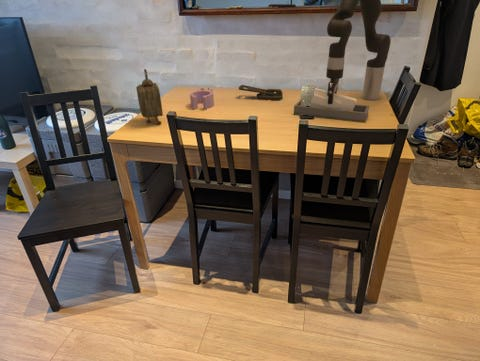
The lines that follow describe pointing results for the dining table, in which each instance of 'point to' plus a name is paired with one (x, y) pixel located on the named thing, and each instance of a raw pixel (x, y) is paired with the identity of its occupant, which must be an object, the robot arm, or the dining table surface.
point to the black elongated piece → (264, 93)
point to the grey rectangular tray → (334, 112)
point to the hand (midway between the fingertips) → (331, 101)
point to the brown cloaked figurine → (149, 99)
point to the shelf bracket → (338, 101)
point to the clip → (202, 98)
